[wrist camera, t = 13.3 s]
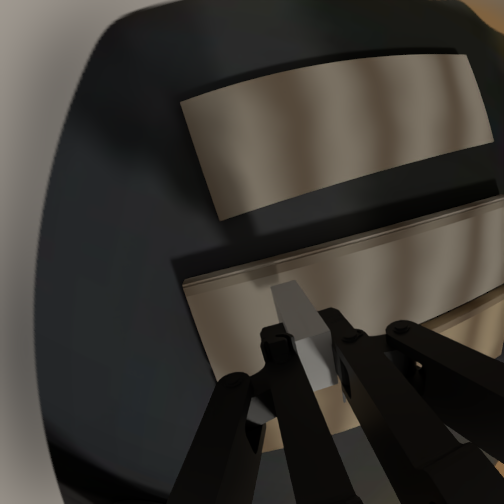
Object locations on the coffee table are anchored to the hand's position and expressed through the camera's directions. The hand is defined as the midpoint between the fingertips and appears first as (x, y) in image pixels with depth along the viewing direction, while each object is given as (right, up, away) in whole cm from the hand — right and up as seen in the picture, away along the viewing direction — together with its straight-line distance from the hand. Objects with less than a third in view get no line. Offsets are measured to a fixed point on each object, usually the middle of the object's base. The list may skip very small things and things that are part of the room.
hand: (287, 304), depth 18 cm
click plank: (+8, +1, +4) cm, 9 cm away
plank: (+6, +13, +1) cm, 14 cm away
